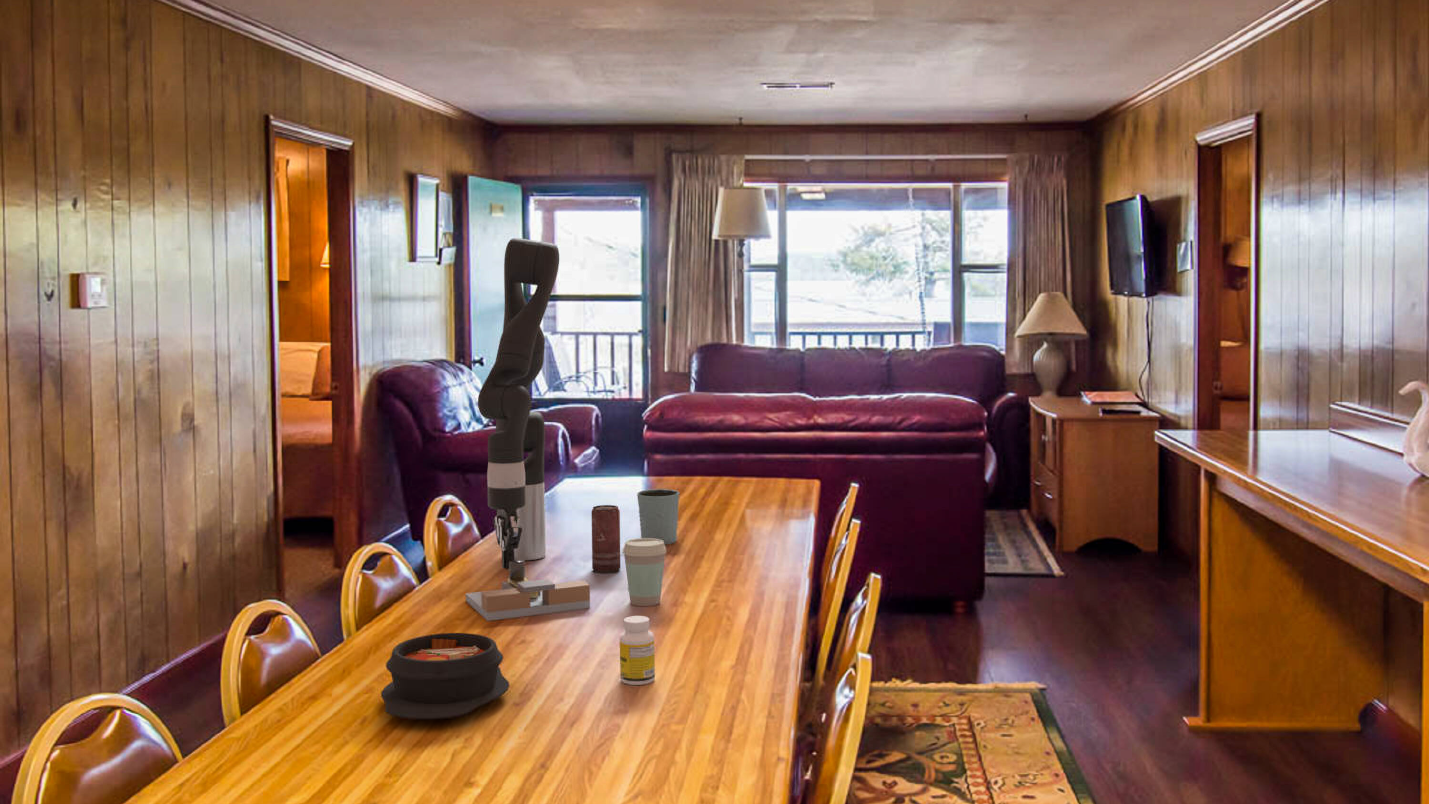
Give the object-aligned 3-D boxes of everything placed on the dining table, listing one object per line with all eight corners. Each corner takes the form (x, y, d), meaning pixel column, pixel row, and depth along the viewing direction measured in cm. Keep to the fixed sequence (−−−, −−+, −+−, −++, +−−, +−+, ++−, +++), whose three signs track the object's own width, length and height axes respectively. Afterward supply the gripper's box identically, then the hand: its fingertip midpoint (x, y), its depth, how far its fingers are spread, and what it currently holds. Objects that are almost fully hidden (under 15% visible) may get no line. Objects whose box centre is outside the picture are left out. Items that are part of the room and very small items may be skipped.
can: (617, 574, 258) (616, 509, 257) (588, 572, 259) (587, 508, 258) (624, 567, 264) (624, 504, 263) (597, 566, 265) (596, 503, 264)
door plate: (466, 600, 236) (465, 573, 236) (563, 589, 245) (562, 562, 244) (487, 621, 222) (487, 591, 221) (590, 608, 230) (589, 580, 230)
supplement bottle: (620, 675, 190) (619, 614, 189) (654, 674, 190) (653, 613, 190) (620, 686, 185) (619, 624, 184) (655, 685, 185) (654, 623, 184)
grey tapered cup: (682, 537, 296) (681, 489, 295) (676, 546, 286) (676, 496, 285) (641, 536, 297) (640, 488, 296) (634, 545, 287) (634, 495, 286)
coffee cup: (673, 599, 237) (673, 539, 236) (657, 609, 229) (656, 547, 228) (633, 595, 240) (632, 536, 239) (616, 606, 232) (615, 544, 231)
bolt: (507, 587, 240) (506, 560, 239) (523, 585, 241) (522, 558, 241) (522, 599, 231) (521, 570, 230) (538, 597, 232) (537, 569, 232)
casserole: (410, 673, 192) (408, 622, 191) (525, 675, 191) (524, 623, 190) (355, 730, 167) (353, 671, 166) (487, 733, 166) (486, 673, 165)
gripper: (534, 486, 238) (535, 572, 240) (515, 477, 250) (517, 559, 252) (497, 489, 235) (498, 576, 237) (479, 480, 247) (481, 563, 248)
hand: (508, 568), depth 244 cm, fingers closed
